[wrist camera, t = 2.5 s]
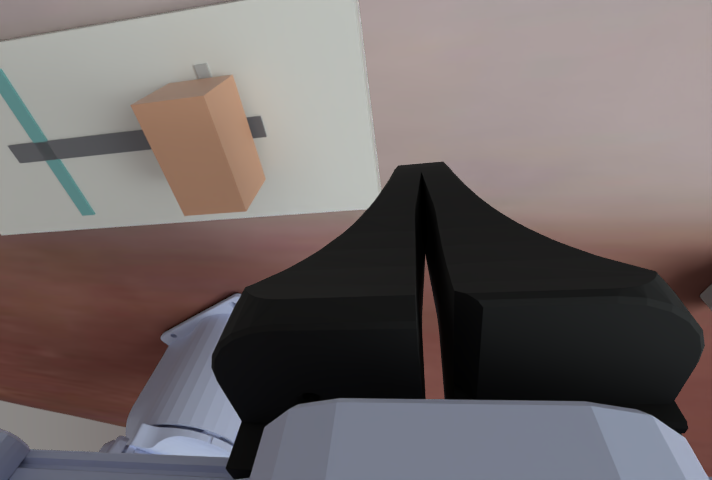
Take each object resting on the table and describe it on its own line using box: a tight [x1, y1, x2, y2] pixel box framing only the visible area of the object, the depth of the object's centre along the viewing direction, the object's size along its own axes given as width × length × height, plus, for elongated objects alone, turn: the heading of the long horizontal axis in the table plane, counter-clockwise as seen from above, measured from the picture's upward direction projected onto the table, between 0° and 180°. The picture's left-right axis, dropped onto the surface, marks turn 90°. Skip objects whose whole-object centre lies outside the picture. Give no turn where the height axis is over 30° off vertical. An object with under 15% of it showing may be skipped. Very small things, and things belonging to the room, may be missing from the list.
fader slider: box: [130, 75, 266, 216], centre depth 17 cm, size 3×5×3 cm, turn 8°
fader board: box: [0, 0, 381, 235], centre depth 20 cm, size 24×10×2 cm, turn 98°
